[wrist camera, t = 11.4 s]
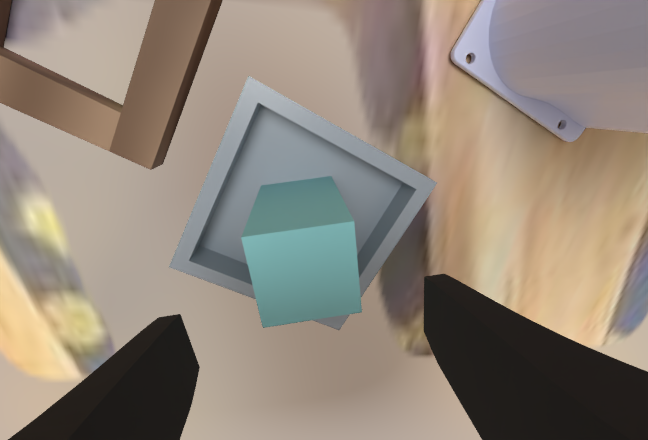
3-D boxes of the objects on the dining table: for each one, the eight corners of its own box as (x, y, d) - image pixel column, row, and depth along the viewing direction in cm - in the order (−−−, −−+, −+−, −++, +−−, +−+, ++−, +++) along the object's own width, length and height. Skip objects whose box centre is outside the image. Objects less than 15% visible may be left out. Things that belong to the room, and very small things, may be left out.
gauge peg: (331, 175, 17) (354, 221, 11) (338, 239, 19) (361, 312, 12) (261, 185, 17) (240, 237, 10) (273, 248, 18) (262, 327, 12)
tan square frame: (233, -30, 14) (226, -44, 12) (162, 164, 17) (151, 169, 15) (-20, -195, 11) (-65, -236, 10) (-53, 66, 14) (-91, 62, 13)
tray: (418, 172, 18) (437, 182, 16) (334, 305, 21) (339, 330, 19) (255, 79, 16) (248, 75, 13) (184, 246, 19) (168, 266, 16)
